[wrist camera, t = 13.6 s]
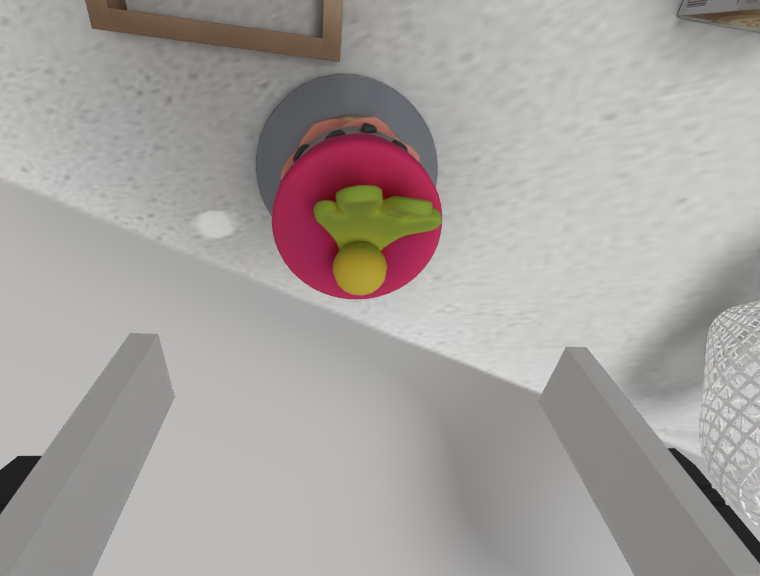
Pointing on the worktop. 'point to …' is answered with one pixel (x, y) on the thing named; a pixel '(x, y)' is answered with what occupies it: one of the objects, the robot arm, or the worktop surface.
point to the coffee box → (723, 13)
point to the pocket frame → (221, 30)
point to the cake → (355, 209)
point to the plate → (332, 101)
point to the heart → (732, 407)
